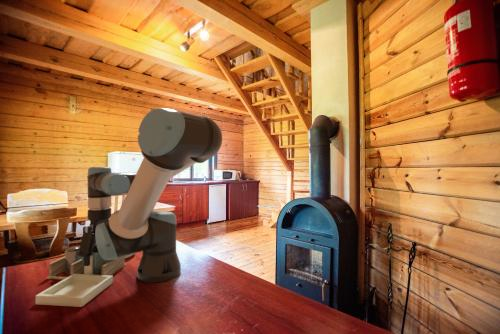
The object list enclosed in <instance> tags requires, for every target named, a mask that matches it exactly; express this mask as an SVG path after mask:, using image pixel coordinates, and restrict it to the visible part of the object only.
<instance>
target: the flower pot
mask: <svg viewBox="0 0 500 334" xmlns="http://www.w3.org/2000/svg"><path fill="white" fill-rule="evenodd" d="M91 255H93V274H92V275H101V274H102V265H104V264H106V263H107V262H109V261H111V260H104V259H103V258H102V257H101V256H100V254H99V252H98V249H97V245H96V244H95V246H94V249H93V251H92V254H91ZM82 262H83V265H84V257H82Z"/></svg>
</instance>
